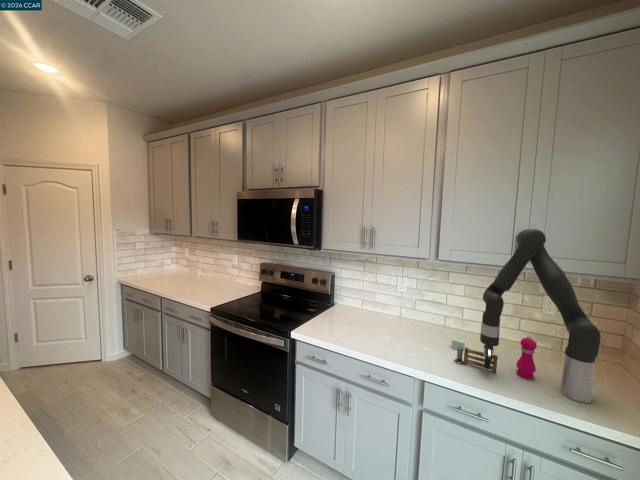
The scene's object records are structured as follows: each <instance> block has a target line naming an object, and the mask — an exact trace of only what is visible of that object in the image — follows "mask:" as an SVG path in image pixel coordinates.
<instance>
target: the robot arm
mask: <svg viewBox="0 0 640 480" xmlns="http://www.w3.org/2000/svg"><path fill="white" fill-rule="evenodd" d="M546 240H547V237H546V235H545V233H544V231H541V230H540V229H537V228H528V229H526V228H525V229H523V230H521V231H520V232H519V233H518V234H517V237H516V241H517V244H518V245H517V247H516V249H515V251H514V252H513V254H512V256H511V257H510V259H509V260H508V261H507V262H506V263H505V264H504V265H503V266H502V268H501V269H500V271H499V272H498V274H497V276H496V277H495V278H494V280H493V282H492V283H491V284H490V285H489V286H488V287H487V288H486V289H485V291H484V292H483V293H482V300H483V302H484V303H485V310H483V313H482V319H481V326H480V336H479V337H480V338H479V342H481V343H482V344H483V353H484V357H483V359H485V362H484V363H483V364H484V367H485V368H484V369H485V370H489V369H490V365H491V364H490V363H491V362H492V361H493V359H492V358H493V355H494V353H495V347H498V346H499V343H500V332H501V329H500V328H501V327H500V325H501V317H502V316H501V315H502V312H503V309H504V303H505V302H504V298H503V296H502V295H504V293H506V292H508V291H510V290H511V288H512V287H513V285H514V284H515V282H516V281H517V279H518V278H519V276H520V275H521V273H522V272H523V270H524V268H525V267H526V265H528V263H529V261H530V263H531V265H532V268H533V270H534V272H535V274H536V276H537V279H538V280H539V282H540V284H541V286H542V288H543V289H544V291H545V292H546V295H547V296H548V297H549V299H550V300H551V302H552V303H553V304H554V305H555V307H556V308H557V309H558V311H559V314H560V315H561V318H562V320H563V322H564V325H565V328H566V330H567V332H568V340H567V345H566V347H565V349H564V357H563V364H562V371H561V373H562V374H561V381H560V387H559V388H560V390H559V391H560V392H561V394H562V395H564V396H565V397H567V398H569V399H571V400H573V401H576V402H579V403H585V404H586V403H587V404H592V398H593V397H592V396H593V389H594V383H595V382H594V379H593V378H594V371H595V364H596V358H597V357H598V355H599V350H600V344H601V339H602V338H601V331H600V329H598V327H597V326H596V325H595V323H593V322H592V321H591V320H590V319H589V317H588V316H587V315H586V313H585V312H584V310H583V309H582V307H581V306H580V304H579V301H578V299H577V296H576V292H575V290H574V288H573V285H572V283H571V282H570V280H569V278H568V276H567V275H566V273H565V272H564V270H562V268H561V267H560V266H559V265H558V264H557V263H556V262H555V261H554V259H553V258H552V257H551V256H550V254H549V253H548V251H547V249H546V247H545V244H546V242H547V241H546Z"/></svg>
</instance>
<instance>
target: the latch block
mask: <svg viewBox="0 0 640 480" xmlns="http://www.w3.org/2000/svg"><path fill="white" fill-rule="evenodd" d="M465 342H466V341H465V340H461V339H459V338H456V337H452V339H451V349H453V350H458V346H460V347H463V352H464V351H465V347H466V345H465V344H466V343H465Z"/></svg>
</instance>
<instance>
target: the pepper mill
mask: <svg viewBox="0 0 640 480" xmlns="http://www.w3.org/2000/svg"><path fill="white" fill-rule="evenodd" d="M520 346H521V347H520V348H521V349H520V350H521V356H520V358H519V359H517V362H516V367H517V368H516V369H517V370H516V374H517V376H519V377H520V378H522V379H525V380H533V379H534V375H535V374H534V373H535V372H536V371H537V369H536V364H535V362H534V358H533V357H534V355H535V350H536V348H537V342H536V341H535V340H534V339H532V336H531V335H530V334H529V335H527V336H526V337H523V338H521V340H520Z"/></svg>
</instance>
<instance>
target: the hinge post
mask: <svg viewBox="0 0 640 480" xmlns="http://www.w3.org/2000/svg"><path fill="white" fill-rule="evenodd" d="M463 356H464V351H463V347H460V346H458V350H457V353H456V358H455V359H454V363H455V364H457V365H460V366H462V365H465V364H464V360H463Z"/></svg>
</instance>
